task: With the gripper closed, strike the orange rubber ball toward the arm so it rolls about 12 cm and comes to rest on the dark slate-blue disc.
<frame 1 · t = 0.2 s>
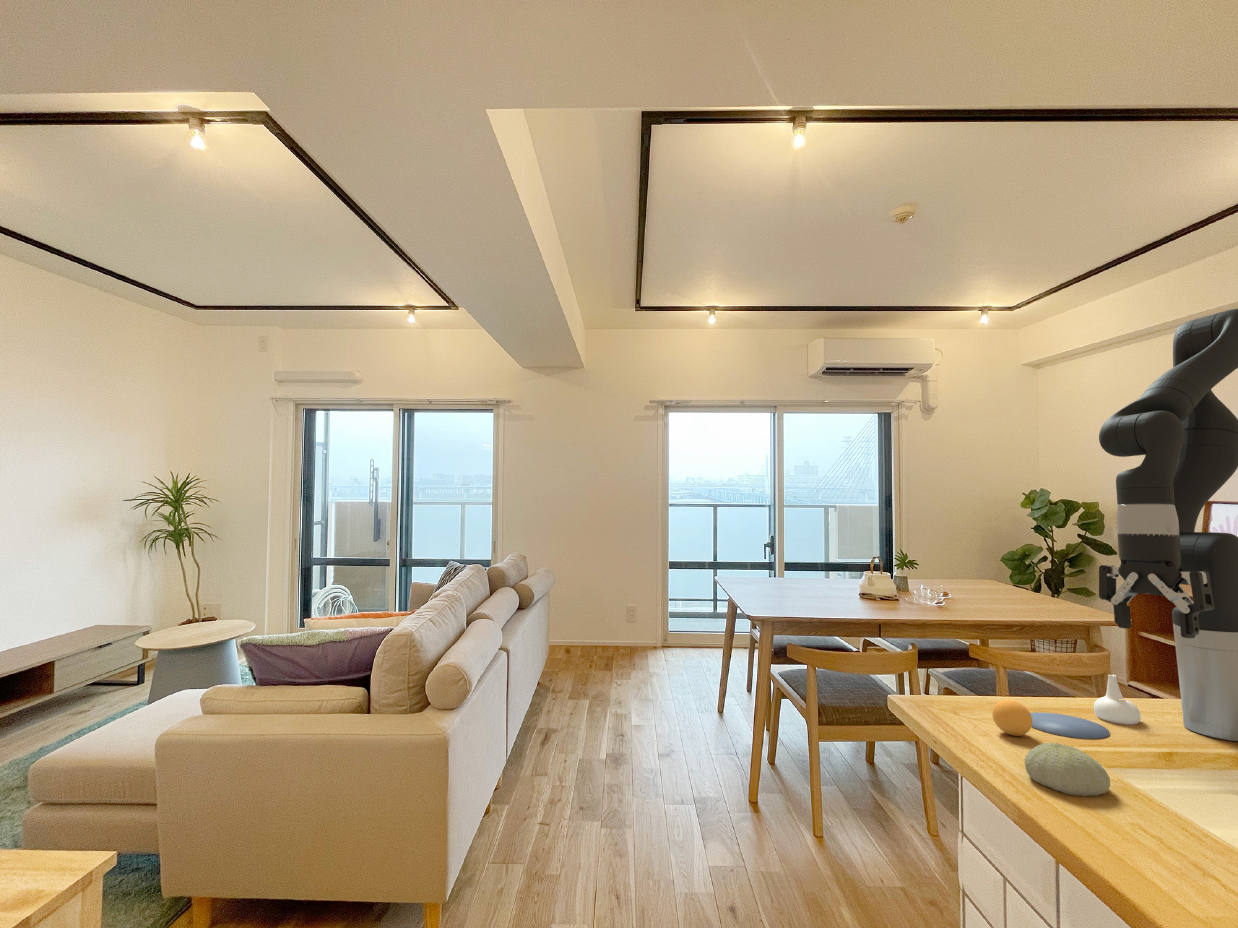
hand: (1155, 632, 91), 17 cm above the counter, tool pointing down, fingers open, 8 cm apart
sea urchin shell: (1066, 786, 77), on the counter
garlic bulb: (1117, 721, 100), on the counter
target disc: (1064, 725, 98), on the counter
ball: (1012, 717, 94), on the counter
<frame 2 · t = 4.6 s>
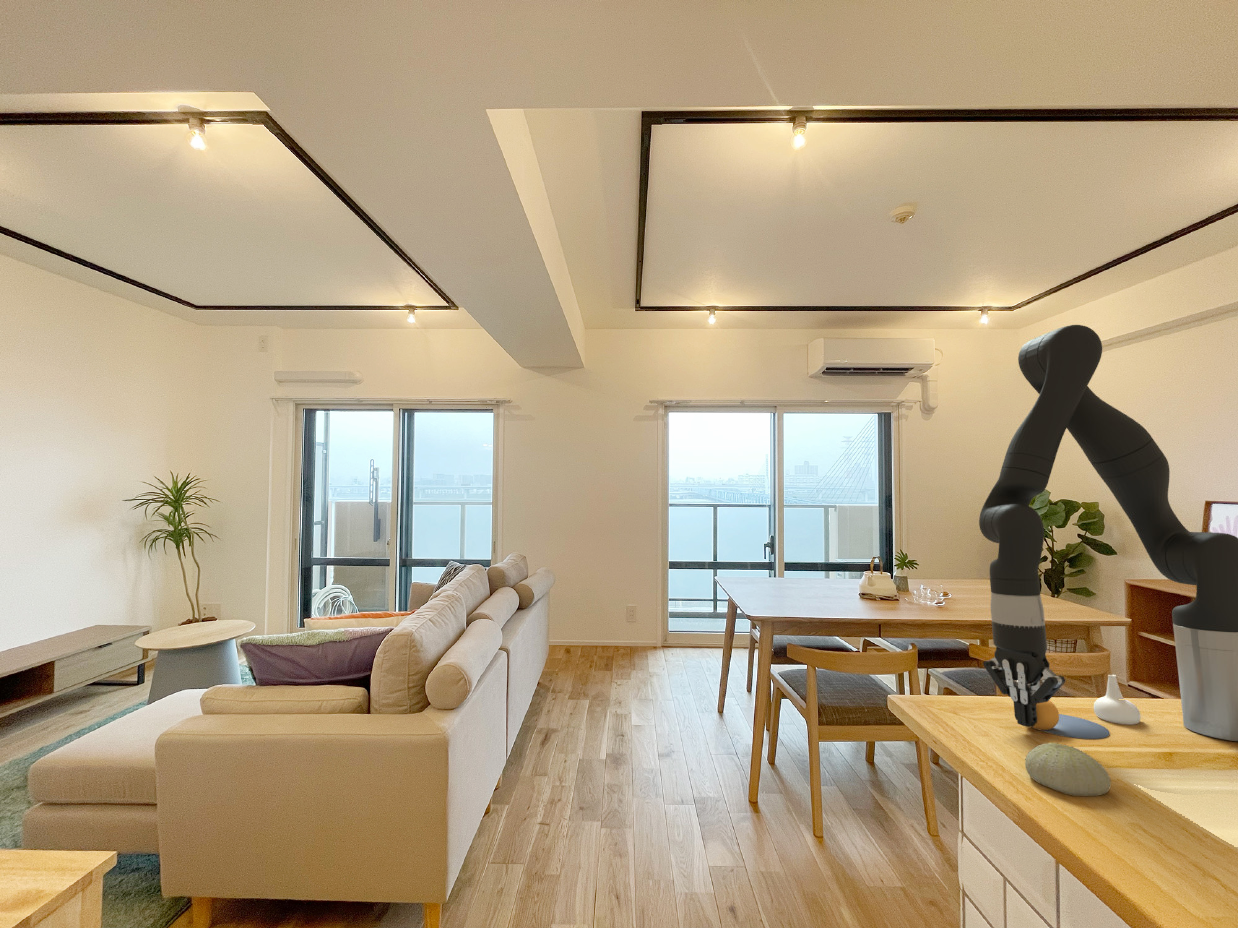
hand: (1026, 724, 95), 1 cm above the counter, tool pointing down, fingers closed
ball: (1038, 712, 97), on the counter
everything else where it was.
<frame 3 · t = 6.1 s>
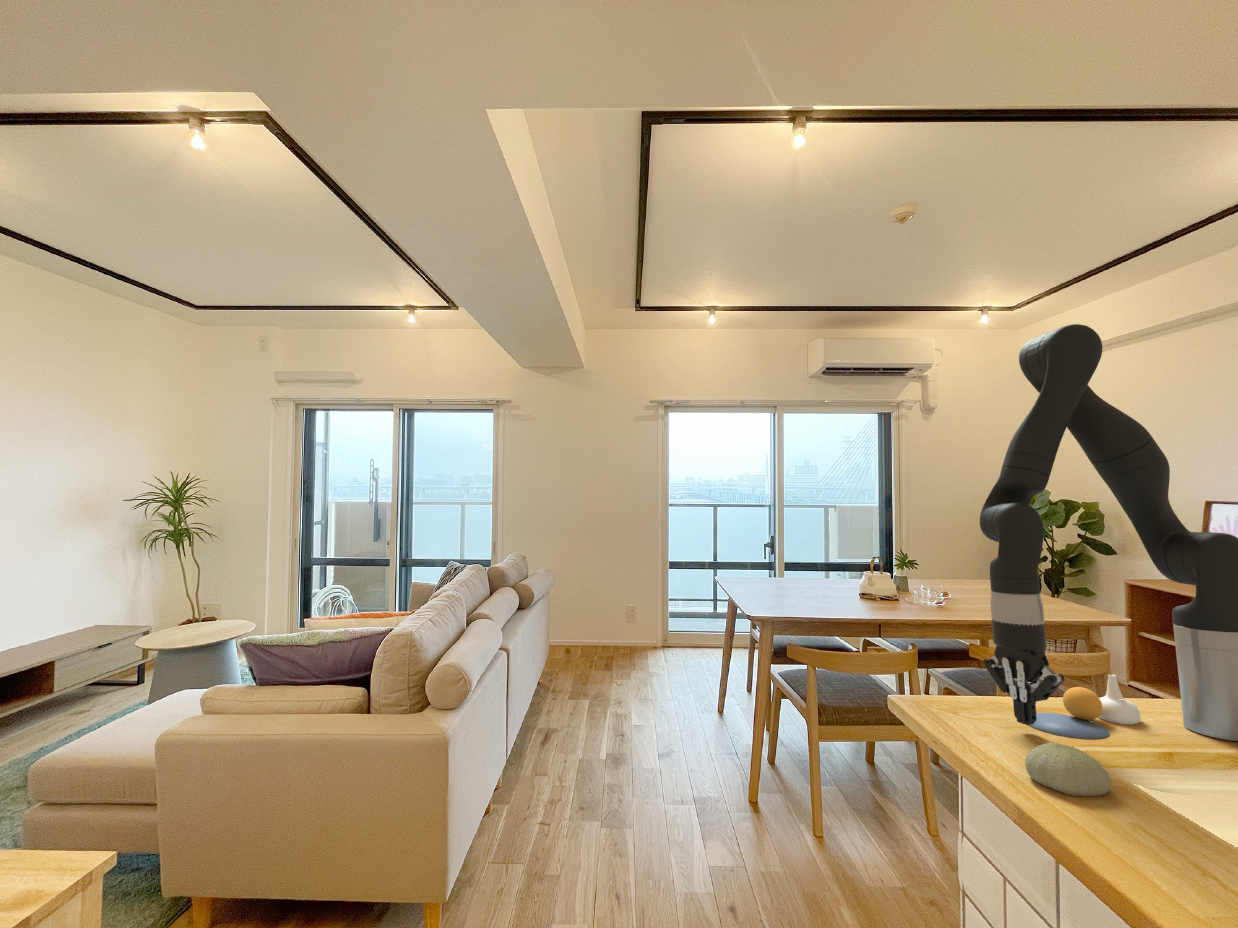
hand: (1025, 722, 95), 2 cm above the counter, tool pointing down, fingers closed
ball: (1082, 703, 101), on the counter
everything else where it was.
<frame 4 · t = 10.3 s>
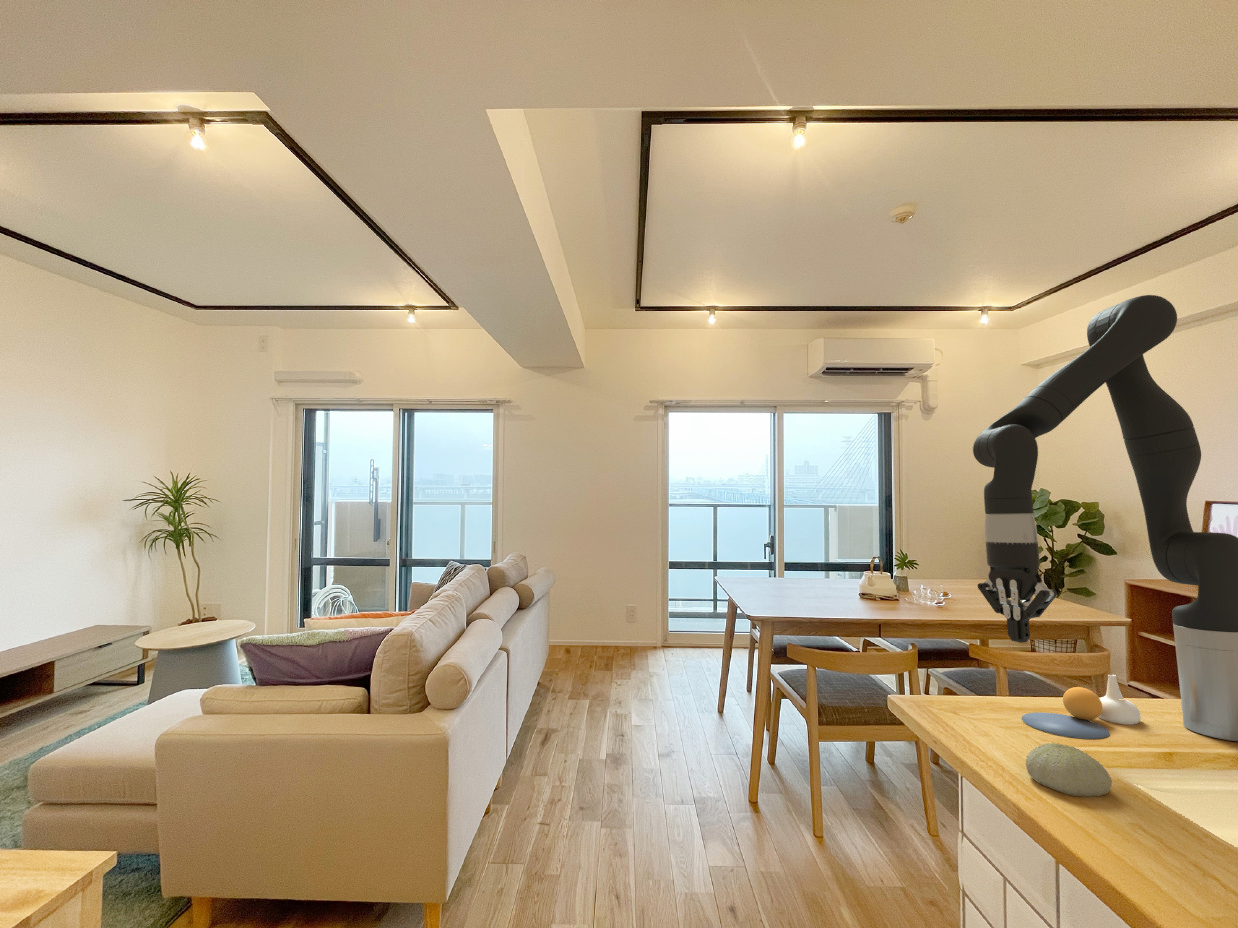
hand: (1019, 641, 96), 15 cm above the counter, tool pointing down, fingers closed
nothing on the counter moved.
at the end: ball 6.5 cm from the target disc (horizontally); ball at rest at the end (0.0 cm/s); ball moved 18.4 cm from its start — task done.
